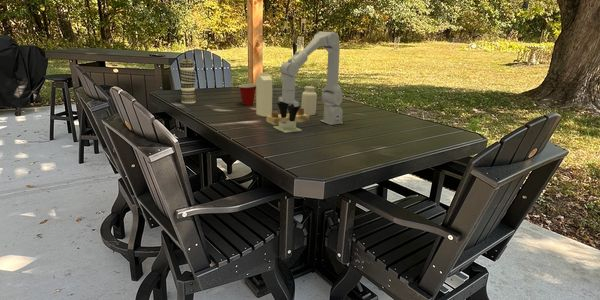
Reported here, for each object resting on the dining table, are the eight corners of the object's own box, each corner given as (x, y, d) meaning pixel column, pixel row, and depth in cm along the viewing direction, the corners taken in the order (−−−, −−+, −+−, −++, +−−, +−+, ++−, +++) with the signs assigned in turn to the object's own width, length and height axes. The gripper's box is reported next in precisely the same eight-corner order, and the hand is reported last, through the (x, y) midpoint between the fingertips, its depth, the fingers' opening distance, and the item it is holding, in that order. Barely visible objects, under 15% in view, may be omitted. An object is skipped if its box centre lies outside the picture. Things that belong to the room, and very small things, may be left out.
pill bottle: (316, 116, 207) (317, 88, 202) (301, 115, 207) (302, 87, 202) (315, 113, 214) (317, 86, 210) (301, 112, 215) (302, 85, 210)
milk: (272, 115, 205) (272, 73, 198) (262, 116, 201) (263, 73, 194) (264, 113, 209) (265, 72, 203) (255, 114, 205) (256, 72, 199)
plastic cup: (236, 103, 233) (235, 83, 229) (253, 102, 237) (253, 83, 234) (241, 107, 223) (241, 86, 220) (259, 106, 228) (259, 85, 224)
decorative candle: (180, 100, 235) (177, 58, 227) (196, 100, 238) (194, 58, 230) (180, 103, 226) (178, 60, 219) (196, 103, 229) (195, 60, 222)
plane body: (300, 118, 201) (300, 106, 199) (309, 121, 195) (309, 109, 193) (266, 121, 191) (266, 109, 189) (274, 125, 184) (274, 112, 183)
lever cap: (291, 126, 182) (291, 120, 181) (296, 128, 178) (296, 122, 177) (278, 127, 178) (278, 121, 177) (282, 129, 175) (283, 123, 174)
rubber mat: (302, 130, 176) (302, 129, 176) (285, 132, 172) (285, 132, 171) (289, 125, 185) (289, 124, 185) (273, 127, 180) (273, 126, 180)
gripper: (272, 87, 177) (272, 117, 181) (289, 92, 165) (288, 123, 169) (286, 87, 180) (285, 115, 184) (303, 91, 169) (302, 122, 173)
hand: (287, 119), depth 177 cm, fingers open, 7 cm apart
